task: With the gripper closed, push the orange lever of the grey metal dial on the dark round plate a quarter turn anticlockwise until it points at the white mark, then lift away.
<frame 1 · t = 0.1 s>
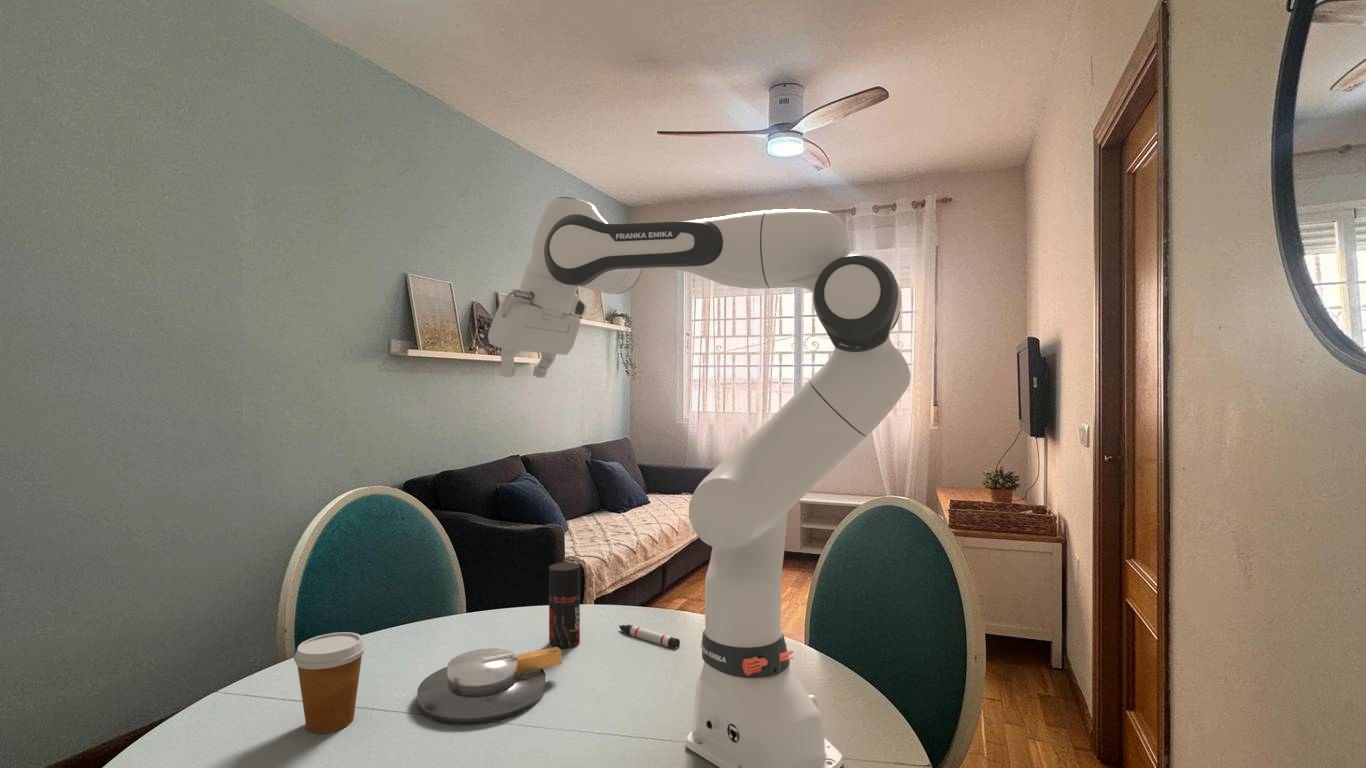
hand: (523, 376, 110), 52 cm above the table, tool tilted 20°, fingers open, 8 cm apart
marker: (646, 641, 133), on the table
plate: (483, 694, 109), on the table
dial: (506, 664, 111), point 4 cm above the table, hinge at 0.0°
deodorant: (564, 644, 130), on the table
disposable coffee cup: (330, 724, 99), on the table
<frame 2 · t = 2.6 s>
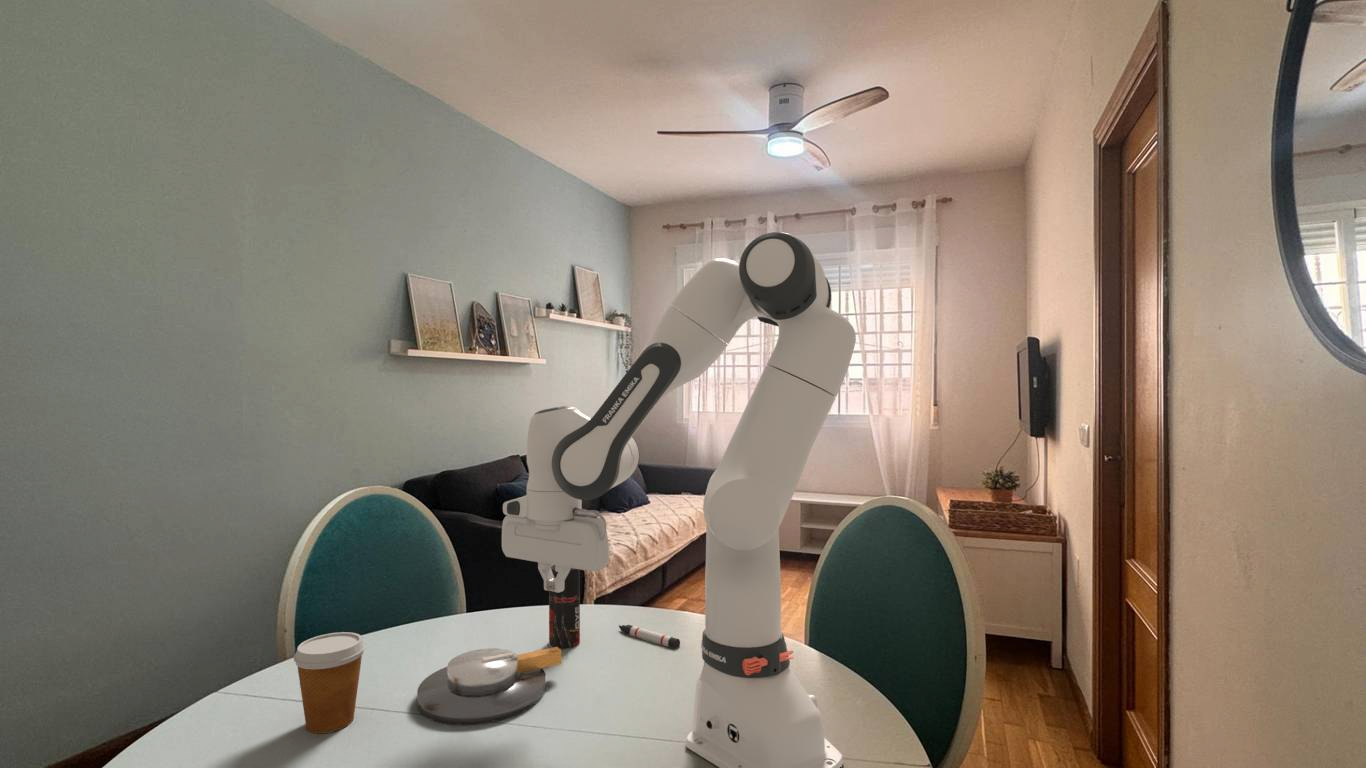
hand: (554, 590, 108), 17 cm above the table, tool pointing down, fingers closed
nothing on the table moved.
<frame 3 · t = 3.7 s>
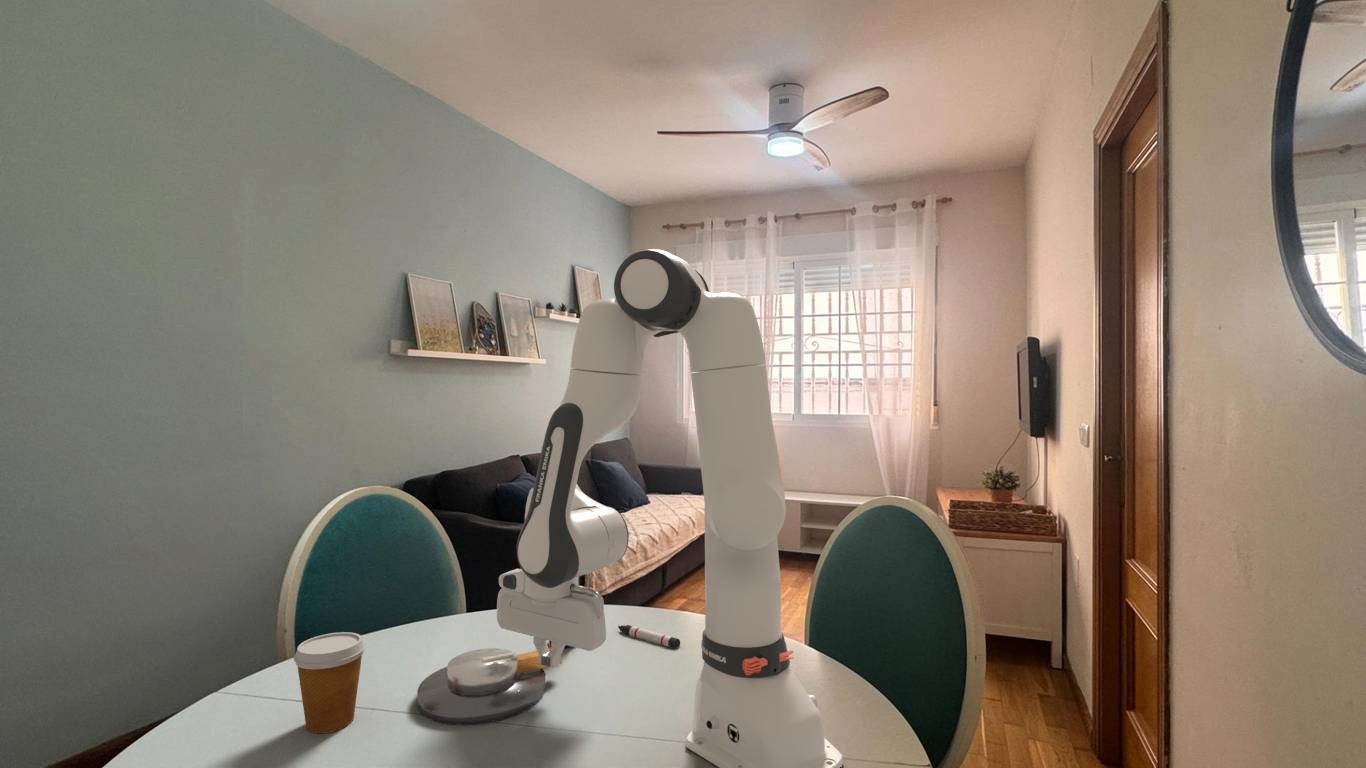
hand: (549, 665, 108), 5 cm above the table, tool pointing down, fingers closed
nothing on the table moved.
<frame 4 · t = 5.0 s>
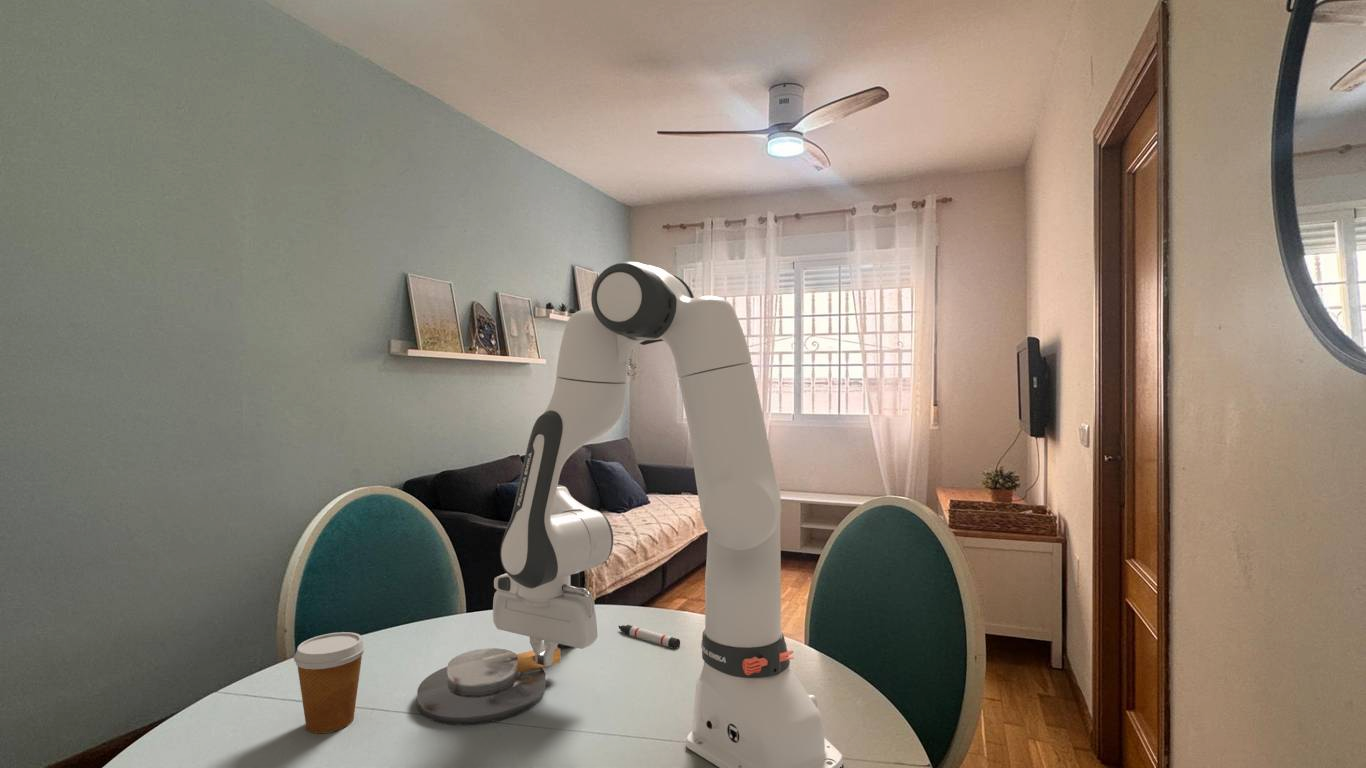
hand: (544, 663, 112), 4 cm above the table, tool pointing down, fingers closed
dial: (505, 664, 111), point 4 cm above the table, hinge at 2.9°, touching gripper
everything else where it was.
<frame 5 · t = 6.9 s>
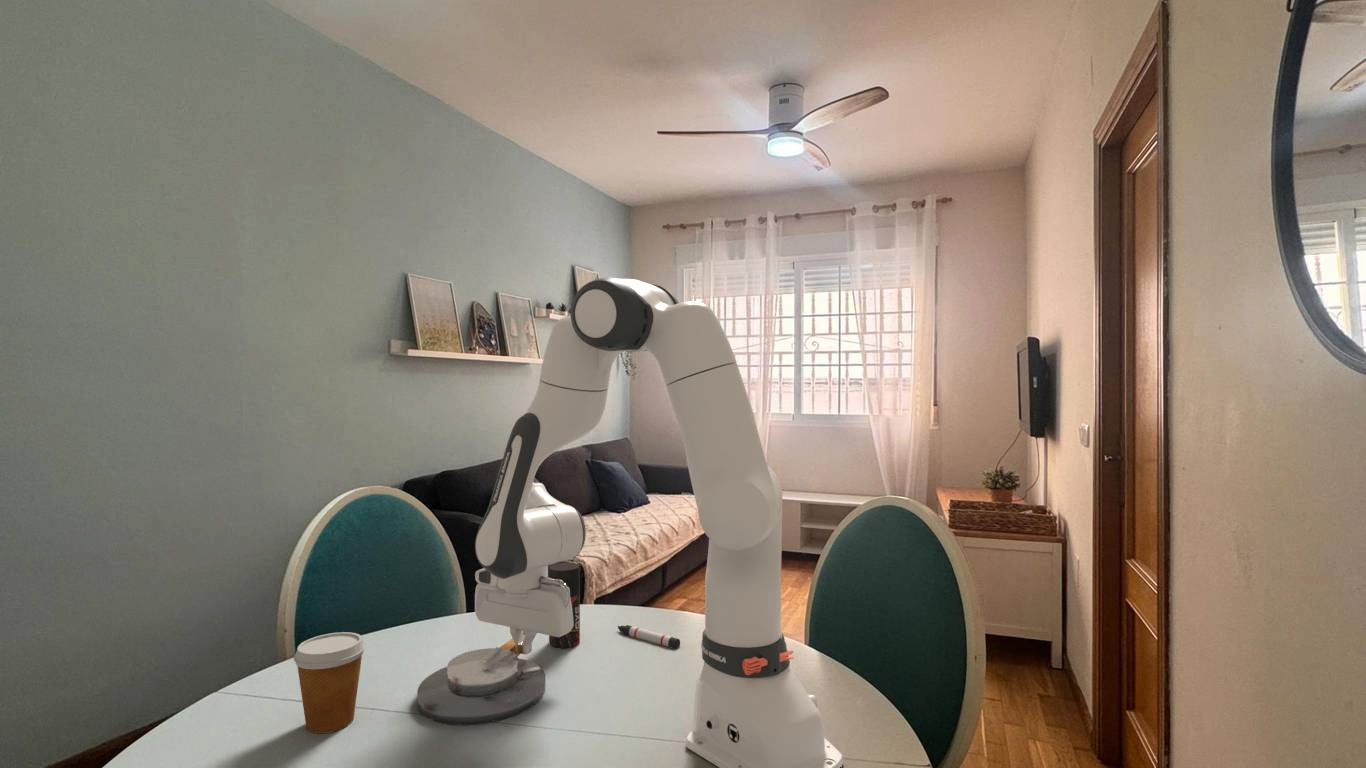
hand: (523, 652, 117), 3 cm above the table, tool pointing down, fingers closed
dial: (495, 660, 112), point 4 cm above the table, hinge at 45.3°, touching gripper
everything else where it was.
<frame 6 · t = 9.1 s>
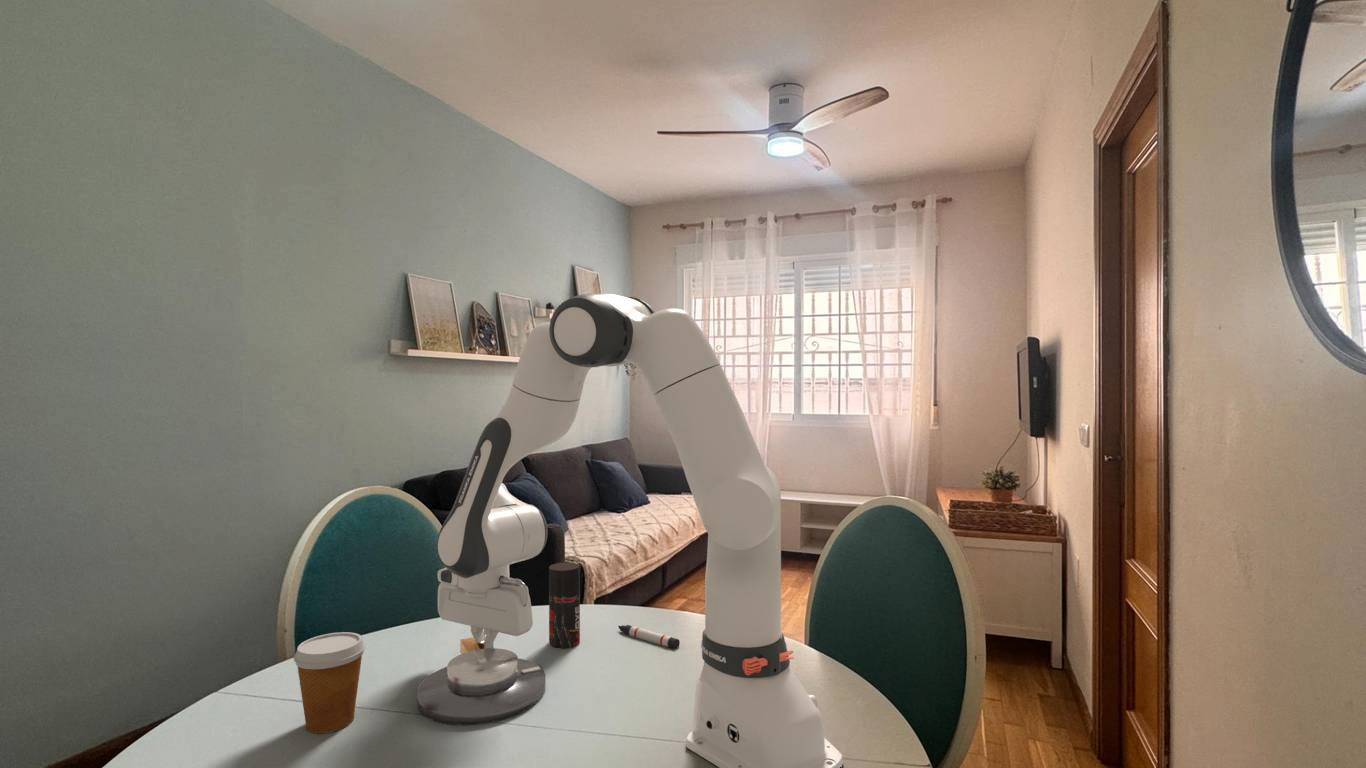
hand: (484, 651, 118), 3 cm above the table, tool pointing down, fingers closed
dial: (477, 661, 112), point 4 cm above the table, hinge at 89.5°, touching gripper
everything else where it was.
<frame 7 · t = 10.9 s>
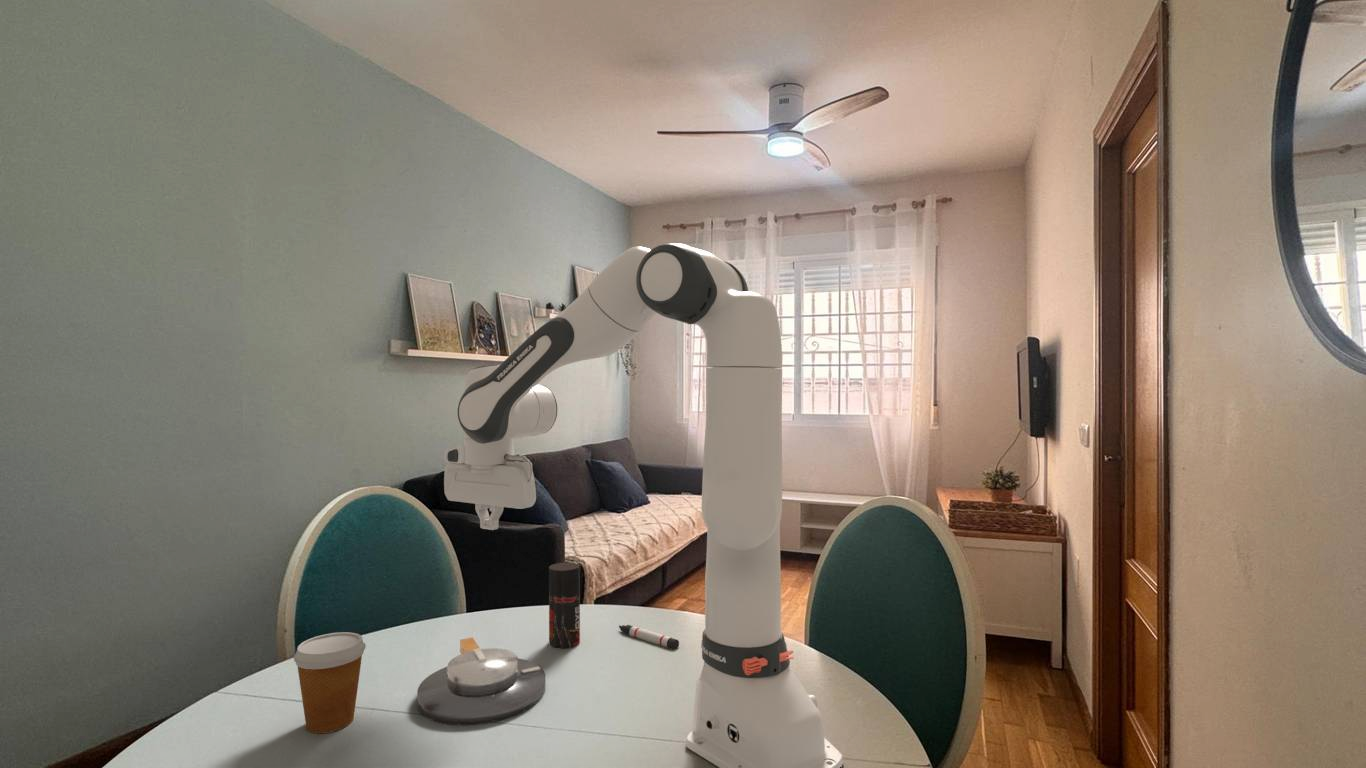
hand: (489, 528, 122), 24 cm above the table, tool pointing down, fingers closed
dial: (477, 661, 112), point 4 cm above the table, hinge at 89.7°
everything else where it was.
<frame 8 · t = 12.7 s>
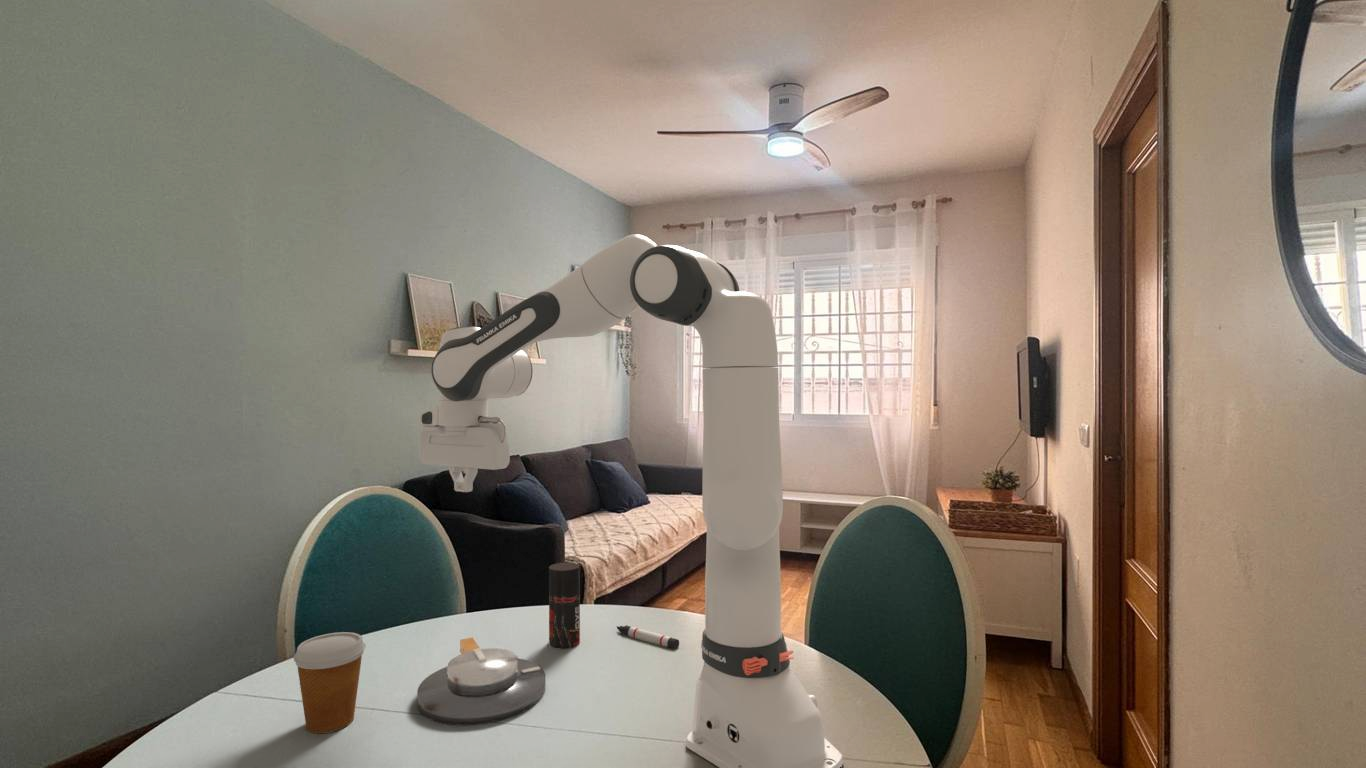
hand: (463, 491, 122), 31 cm above the table, tool pointing down, fingers closed
nothing on the table moved.
at the end: dial at +90° (first picture: +0°) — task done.
